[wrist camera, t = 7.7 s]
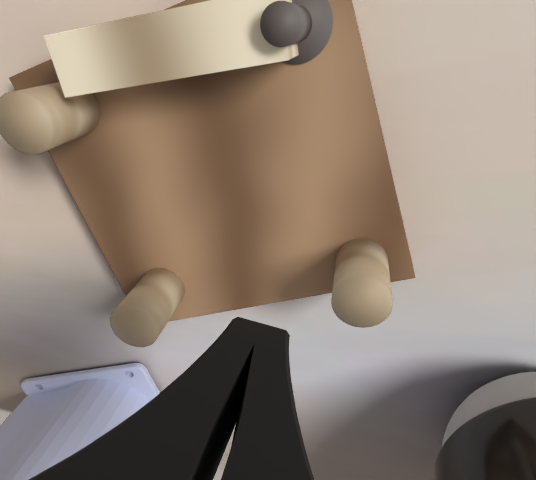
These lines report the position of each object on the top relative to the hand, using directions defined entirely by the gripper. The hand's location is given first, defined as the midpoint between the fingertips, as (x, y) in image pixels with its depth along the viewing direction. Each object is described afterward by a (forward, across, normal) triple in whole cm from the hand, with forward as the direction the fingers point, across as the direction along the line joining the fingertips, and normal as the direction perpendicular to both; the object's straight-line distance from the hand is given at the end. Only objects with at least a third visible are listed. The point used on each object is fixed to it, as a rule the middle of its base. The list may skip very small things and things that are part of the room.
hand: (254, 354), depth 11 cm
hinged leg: (+9, +5, -6) cm, 12 cm away
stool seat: (+10, +4, -1) cm, 11 cm away
